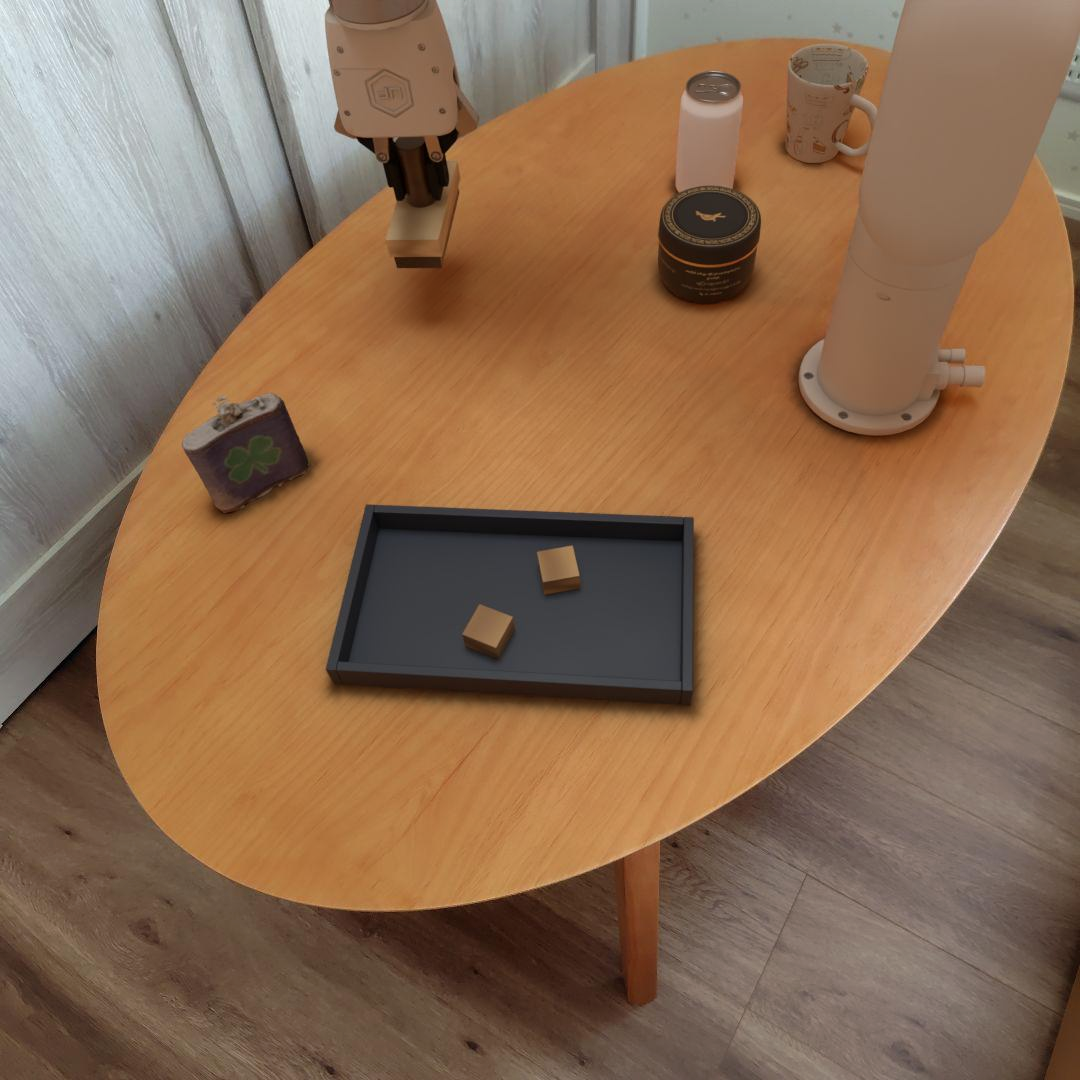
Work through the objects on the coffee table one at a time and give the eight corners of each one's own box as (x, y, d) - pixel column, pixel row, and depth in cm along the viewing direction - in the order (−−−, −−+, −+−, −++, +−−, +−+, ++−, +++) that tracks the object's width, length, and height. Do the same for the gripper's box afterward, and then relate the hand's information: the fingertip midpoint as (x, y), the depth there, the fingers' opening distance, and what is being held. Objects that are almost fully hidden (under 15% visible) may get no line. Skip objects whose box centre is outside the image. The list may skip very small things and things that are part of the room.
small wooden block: (515, 629, 75) (513, 616, 73) (498, 659, 74) (495, 648, 72) (482, 615, 76) (479, 603, 74) (464, 646, 75) (461, 634, 73)
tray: (690, 539, 80) (693, 516, 77) (689, 709, 71) (692, 691, 68) (373, 526, 83) (365, 504, 80) (335, 688, 74) (325, 669, 71)
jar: (764, 301, 95) (775, 239, 89) (668, 316, 95) (672, 255, 89) (738, 239, 101) (746, 176, 95) (646, 253, 101) (649, 191, 94)
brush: (462, 191, 95) (447, 102, 88) (444, 270, 89) (426, 181, 81) (414, 192, 96) (395, 104, 88) (393, 270, 89) (370, 182, 82)
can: (730, 207, 104) (742, 105, 94) (671, 203, 105) (677, 101, 95) (735, 172, 108) (747, 69, 98) (678, 168, 109) (685, 66, 99)
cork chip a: (573, 558, 79) (572, 545, 77) (580, 588, 77) (579, 575, 75) (538, 564, 78) (536, 551, 77) (544, 595, 77) (542, 582, 75)
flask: (223, 518, 84) (178, 440, 75) (210, 498, 86) (164, 419, 77) (315, 468, 87) (281, 387, 78) (300, 449, 88) (266, 368, 80)
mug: (806, 118, 112) (821, 35, 104) (894, 161, 107) (918, 76, 99) (760, 149, 110) (772, 66, 101) (849, 195, 104) (869, 110, 96)
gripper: (265, 16, 73) (329, 218, 88) (472, 8, 71) (501, 216, 86) (289, -31, 77) (346, 169, 92) (485, -40, 75) (510, 166, 90)
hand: (420, 190), depth 89 cm, fingers closed on brush, 2 cm apart
